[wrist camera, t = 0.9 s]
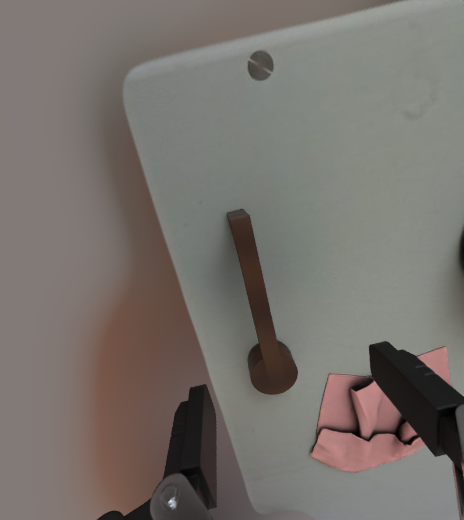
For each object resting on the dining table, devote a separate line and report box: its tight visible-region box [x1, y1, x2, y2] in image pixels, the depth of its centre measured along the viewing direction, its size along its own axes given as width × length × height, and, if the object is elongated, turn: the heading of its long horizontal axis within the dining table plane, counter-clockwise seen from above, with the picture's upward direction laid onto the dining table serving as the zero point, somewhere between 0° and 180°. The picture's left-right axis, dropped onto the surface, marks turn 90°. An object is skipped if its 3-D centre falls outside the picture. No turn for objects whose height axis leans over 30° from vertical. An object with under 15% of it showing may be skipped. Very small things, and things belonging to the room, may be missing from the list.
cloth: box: [310, 347, 452, 472], centre depth 32 cm, size 20×22×2 cm
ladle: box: [227, 209, 298, 395], centre depth 25 cm, size 21×5×6 cm, turn 14°
